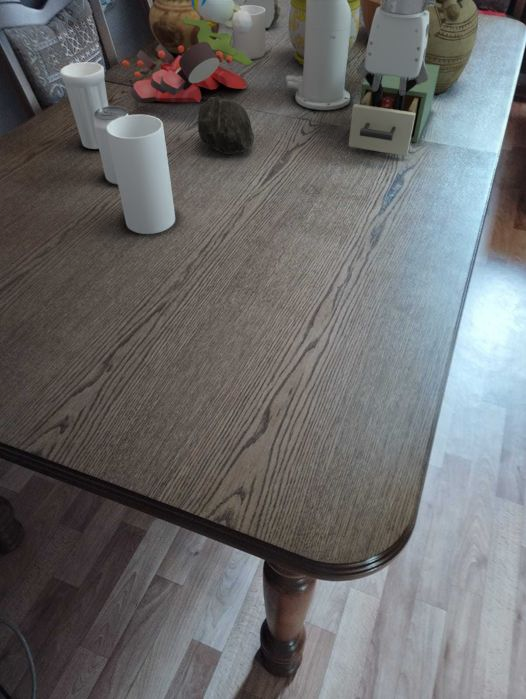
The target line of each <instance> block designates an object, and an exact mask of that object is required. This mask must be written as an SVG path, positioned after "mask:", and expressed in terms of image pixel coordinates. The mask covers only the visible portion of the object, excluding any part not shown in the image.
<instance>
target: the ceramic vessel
mask: <svg viewBox="0 0 526 699" xmlns="http://www.w3.org/2000/svg"><path fill="white" fill-rule="evenodd" d="M425 10H426V11H428V12H429V31H428V40H427V47H426V53H425V59H424V61H425V64H429V65H437V66H440V67H439V72H438V77H437V81H436V86H435V91H434V95H439V94H440V95H441V94H442V93H443V94H444V93H446V92H447V91H449V90H450V89H451V88H452V87H453V85H455V84H456V82H457V81H458V79H459V78H460V77H461V76H462V73H464V70H465V68H466V66H467V64H468V63H469V60H470V58H471V55H472V53H473V49H474V47H475V43H476V38H477V35H478V28H479V11H478V7H477V5H476V3H475V2H474V0H436V2H435V6H430V7H427V8H426V9H425Z"/></svg>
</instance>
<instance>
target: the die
mask: <svg viewBox="0 0 526 699" xmlns="http://www.w3.org/2000/svg"><path fill="white" fill-rule="evenodd" d="M394 102H395V99H393V98H391V97H389V96H388V97H385V98H382V99H380V105H379V108H386V109H393V108H394Z"/></svg>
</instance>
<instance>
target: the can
mask: <svg viewBox="0 0 526 699" xmlns="http://www.w3.org/2000/svg"><path fill="white" fill-rule="evenodd" d="M128 115H129V114H128V109H127V108H126V107H124V106H120V105H108V106H106V107H102V108H99V109H98V110H96V111H95V112H94V116H95V119H94V128H95V133H96V137H97V142H98V146H99V149H98V150H99V151H98V152H99V155H100V159H101V163H102V168H103V172H104V176H105V179H106V181H107V182H109V183H111V184H113V185H117V186H118V182H117V177H116V173H115V168H114V163H113V158H112V153H111V149H110V144H109V139H108V134H107V126H108V124H109V123H110V122H112V121H113V120H115V119H117V118H120V117H124V116H128Z"/></svg>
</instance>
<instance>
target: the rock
mask: <svg viewBox="0 0 526 699" xmlns="http://www.w3.org/2000/svg"><path fill="white" fill-rule="evenodd" d="M197 131H198V135H199V136H198V137H199V138H200V140H201V142H202V143H204V145H205V146H207V148H210V149H214V150H216V151H218V152H220V153H224V154H227V155H237V154H239V153H242V152H244V151H246V150H249V149H251V148H252V147H253V145H254V138H255V134H254V133H253V128H252V124H251V120H250V117H249V114H248V112H247V111H246V109H245V107H243V106H242V105H241V104H240V103H238V102H237V101H234V100H230V99H224V98H221V97H219V96H216V97H212V96H211V97H209V98H208V99H207V100H206V101H205V102H204V103H202V104H201V105H200V106H199V111H198V115H197Z"/></svg>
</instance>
